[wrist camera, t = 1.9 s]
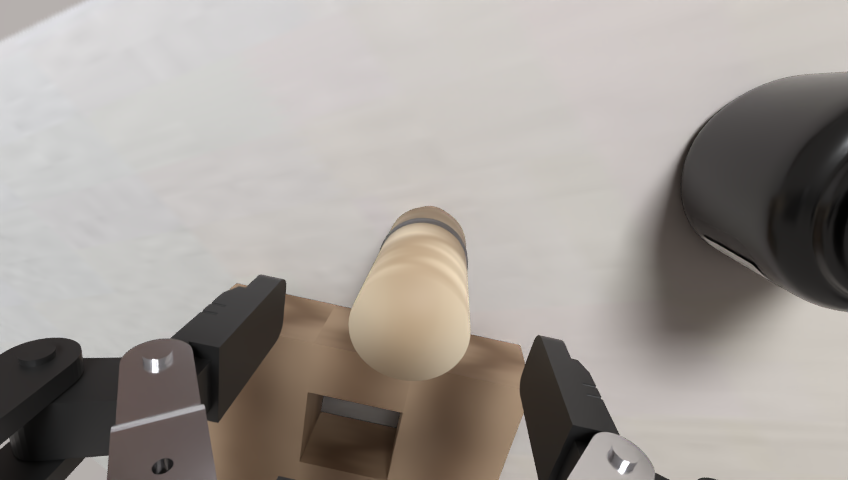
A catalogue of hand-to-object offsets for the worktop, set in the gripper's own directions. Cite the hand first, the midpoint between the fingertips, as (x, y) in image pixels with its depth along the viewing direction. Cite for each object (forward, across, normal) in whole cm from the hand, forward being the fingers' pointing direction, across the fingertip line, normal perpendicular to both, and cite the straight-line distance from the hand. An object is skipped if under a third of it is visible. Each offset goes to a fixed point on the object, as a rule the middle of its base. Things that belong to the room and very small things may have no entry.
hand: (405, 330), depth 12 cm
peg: (+10, 0, 0) cm, 10 cm away
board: (+10, +2, +12) cm, 16 cm away
